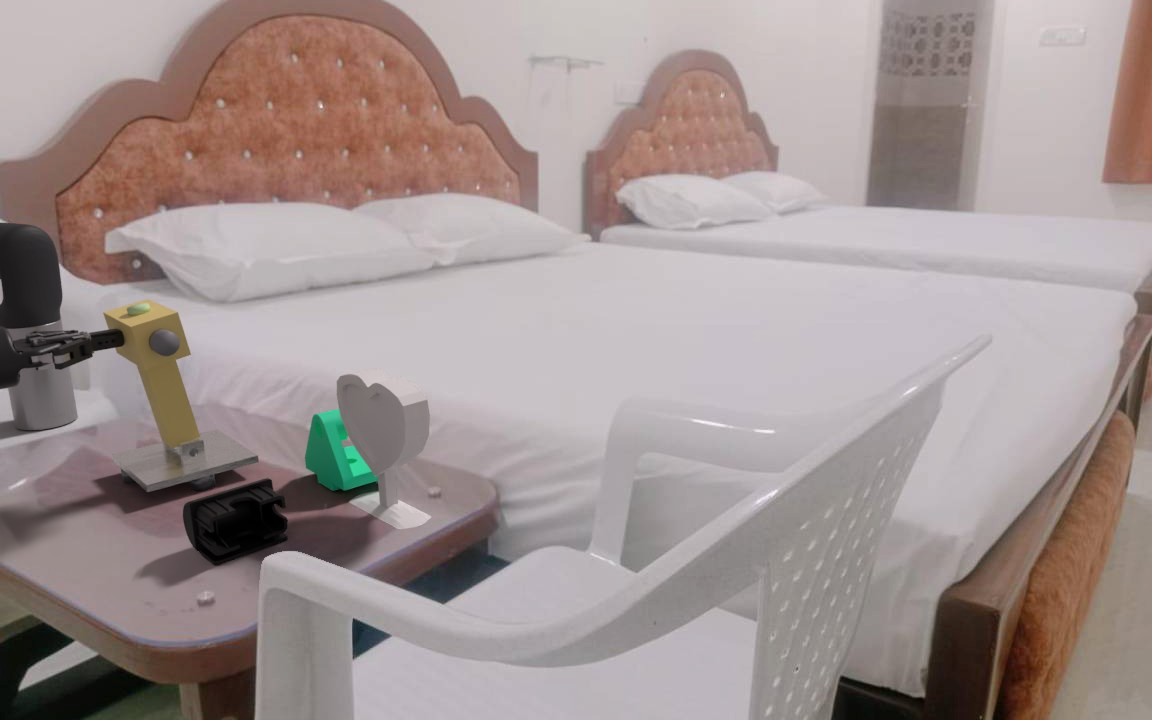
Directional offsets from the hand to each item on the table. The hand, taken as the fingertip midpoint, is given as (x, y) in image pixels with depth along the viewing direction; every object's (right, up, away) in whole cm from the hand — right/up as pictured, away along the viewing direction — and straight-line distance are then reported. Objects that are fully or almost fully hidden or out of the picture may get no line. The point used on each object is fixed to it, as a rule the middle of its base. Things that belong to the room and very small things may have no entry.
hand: (121, 336), depth 118 cm
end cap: (+20, -25, -11) cm, 34 cm away
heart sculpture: (+36, -23, -2) cm, 42 cm away
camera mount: (+29, -20, +7) cm, 35 cm away
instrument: (+4, -15, +8) cm, 18 cm away
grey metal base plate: (+4, -19, +10) cm, 22 cm away
